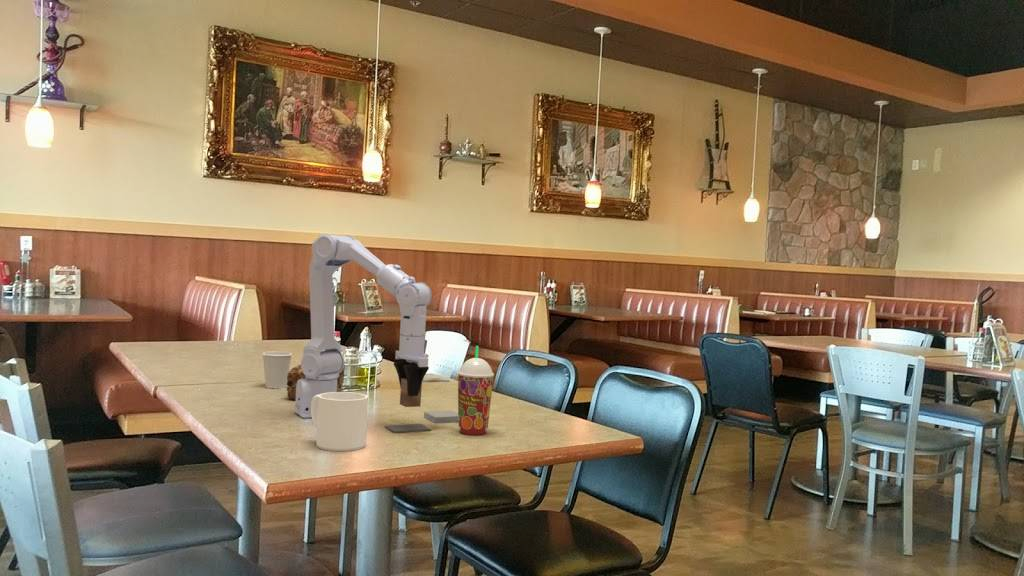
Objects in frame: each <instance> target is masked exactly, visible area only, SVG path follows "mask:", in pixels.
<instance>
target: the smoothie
mask: <svg viewBox="0 0 1024 576" xmlns="http://www.w3.org/2000/svg"><path fill="white" fill-rule="evenodd" d="M479 347H480V346H479V345H475V355H474V357H471V358H469V359H466V361H464V362H463V364H462V365H461V367H460V369H459V370H458V371H457V402H458V404H457V409H458V412H457V413H458V422H457V423H458V427H459V430H460V433H462V434H465V435H471V436H477V435H478V436H480V435H484V434H485V433H486V430H487V429H488V427H489V420H490V411H491V403H492V395H493V393H492V391H493V385H494V376H495V373H494V372H493V369H492V366H491V365H490V363H488V361H487V360H485V359H483V358H481V357H479Z"/></svg>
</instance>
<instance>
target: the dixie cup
mask: <svg viewBox="0 0 1024 576" xmlns="http://www.w3.org/2000/svg"><path fill="white" fill-rule="evenodd" d="M261 355H262V359H263V372H264V384H265V388H266V387H267V388H266V389H269V388H283V389H286V388H287V376H288V373H289V371H290V367H291V360H292V359H291V358H292V355H293V353H292V352H289V351H281V350H280V351H273V350H272V351H271V350H270V351H263V352H262V353H261ZM285 387H286V388H285Z"/></svg>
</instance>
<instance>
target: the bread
mask: <svg viewBox="0 0 1024 576" xmlns="http://www.w3.org/2000/svg"><path fill="white" fill-rule="evenodd" d="M344 372H345V371H344V369H343V370H342V371H341V372H340V373H339V377H337V392H342V389H343V381H344ZM299 379H306V378H305V375H304V373H303V372H302V369H301V364H299V365H296V366H295V367H293V368H291V369H289V372H288V376H287V384H286V391H287V399H288V400H289V399H290V400H289V401H294V402H296V385H297V381H298V380H299Z"/></svg>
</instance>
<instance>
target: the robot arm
mask: <svg viewBox="0 0 1024 576" xmlns="http://www.w3.org/2000/svg"><path fill="white" fill-rule="evenodd" d="M311 249H312V252H311V253H312V255H311V259H310V262H309V268H308V270H309V273H308V275H309V302H310V303H309V305H310V306H309V307H310V309H309V310H310V333H311V334H310V335H311V337H310V339H309V341H308V342H307V343H306V344H305V345H304V346H303V348H302V349H303V354H302V358H301V361H300V365H301V369H302V372H303V373H304V375H305V378H306V379H299V380H298V381H297V385H296V401H294V403H295V406H294V412H295V414H297V415H298V416H300V417H301V418H304V419H305V418H306V419H307V418H312V416H311V402H312V399H313V397H314V396H316V395H320V394H323V393H330V392H337V377H339V373H340V372H341V371H342V370H343V371H344V369H345V368H344V367H345V357H344V355H343V353H342V345H341V343H340V342H339V341H338V340H337V338H335V317H334V313H335V312H334V283H333V277H334V276H333V275H334V274H335V272H336V271H337V270H338V269H339V268H341V267H342V266H344V265H346V264H348V263H351V262H352V261H353V262H354V263H356V264H358V265H359V266H360V267H362V268H363V269H365V270H367V271H368V272H370V273H371V274H373V275H375V277H376V282H377V284H378V285H379V286H380V287H382V288H383V289H384V290H385V291H387V292H389V294H391V295H392V296H393V297H395V298H396V302H397V304H398V305H399V313H400V324H399V325H400V327H399V328H400V329H399V347H398V349H399V350H395V360H399V361H394V362H393V366H394V368H395V370H396V373H397V375H398V376H397V377H398V381H399V387H400V389H401V378H407V389H408V395H409V396H418V393H419V390H420V387H421V383H422V384H423V382H422V380H423V378H424V377H425V376H426V374H427V372H428V370H429V368H430V366H429V356H430V355H429V354H427V353H425V342H426V322H427V321H426V320H427V306H429V304H430V303H431V301H432V298H433V297H432V295H433V294H432V293H433V292H432V290H431V288H430V287H429V286H428V285H427V283H425V282H416V278H415V277H414V276H410V275H408V274H406V273H405V272H404V271H403V270H402V267H401V266H400V265H399V264H392V263H389V264H385V263H384V262H383V261H381V260H380V259H379V258H378V257H376V256H375V255H374V254H373V253H372V252H371V251H370V250H368V249H367V247H365V246H364V245H363V244H362V242H361V241H360V240H358V239H356V238H354V237H353V236H350V235H335V234H329V233H323V234H321V235H319V236H318V237H317V238H316V239H315V240H314V241H313V243H312V244H311Z"/></svg>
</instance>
